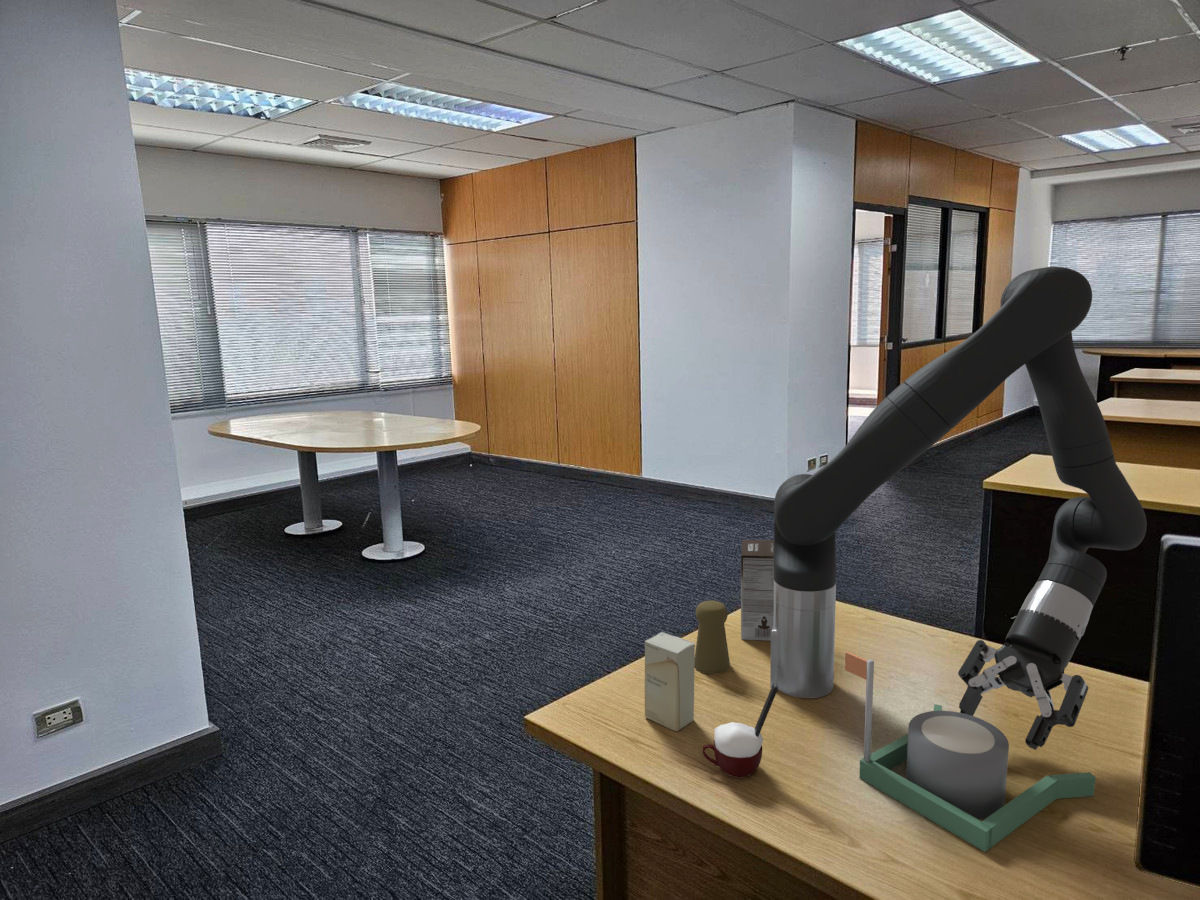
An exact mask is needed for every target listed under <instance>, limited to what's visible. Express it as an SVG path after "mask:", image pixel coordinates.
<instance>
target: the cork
mask: <svg viewBox="0 0 1200 900" xmlns="http://www.w3.org/2000/svg"><path fill="white" fill-rule="evenodd" d="M725 605H726V604H724V603H722V602H720V601H719V600H718V601H717V600H704V601H702V602H700V603H699V604H698V605H697V606H696V609H695V617H696V620H697V622H698V629H697V636H696V644H695V661H694V670H696V671H698V672H700V673H703V674H706V675H720V674H724V673H726V672H728V670H730V669H731V663H730V654H729V649H728V647H729V646H728V641H727V635H726V626H725V624H726V622H727V620H728V613H729V612H728V609H727V607H726V606H725Z"/></svg>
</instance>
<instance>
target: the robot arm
mask: <svg viewBox="0 0 1200 900" xmlns="http://www.w3.org/2000/svg"><path fill="white" fill-rule="evenodd" d="M1092 301H1093V290H1092V287H1091V284H1090V282H1089V280H1088V279H1087V278H1086V277H1085V275H1083V274H1082V273H1080V272H1079V271H1077V270H1074V269H1072V268H1068V267H1064V266H1046V267H1040V268H1035V269H1031V270H1026V271H1025V272H1021V273H1020V274H1018V275H1017V276H1015V277H1013V278H1012V279H1011V281H1009V282H1008V284H1007V285H1006V287H1005V288H1004V290H1003V291H1002V294H1001V299H1000V308H999V309H998V310H997V311H996V312H995V313H994V314H993V315H991V317H990V318H988V320H987V321H986V322H985V323H984V324H983V325H982V326H981V327H980V328H979V329H977V330H976V331H975V332H974V333H972V334H971V335H970V336H968V337H967V338H966V339H965V340H963V341H962V342H960V343H958V344H957V345H955V346H953V347H951V349H949V350H947V351H946V352H944V353H942V354H940V355H939V356H938V357H935V358H934V359H933V360H931V361H930V362H928V363H926V364H925V365H924V366H922V367H921V368H918V370H917V371H915V372H914V373H912V374H911V375H910V376H909V377H907V378H906V379H905V380H904V381H903V382H901V383H900V384H899V385H898V386H897V387H896V388H895V389H894V390H892V391H891V392H890V393H889V394H888V395H887V396H886V397H885V398H883V399H882V400H881V402H879V404H878V405H877V406H876V407H875V408H874V409H873V410H872V411H871V412H870V413H869V415H868V416H867V417H866V418H865V420H864V421H863V422H862V424H861V425H860V426H859V428H857V429H856V431H855V433H854V434H853V435H852V437H851V438H850V439H849V441H848V442H847V444H846V445H845V446H844V447H843V448H842V449H841V451H839V453H838V454H836V455H835V456H834V457H833V458H832V459H831V460H830V461H829V462H827V463H826V464H825V465H824V466H823V467H821V468H819V470H817V471H816V472H814V473H813V474H810V473H800V474H796V475H793V476H790V477H789V478H787V479H786V480H785V481H783V482H782V484H780V486H779V487H778V489H777V491H776V493H775V496H774V500H773V501H774V504H773V505H774V506H773V540H774V616H773V628H772V630H771V641H770V680H769V681H770V683H769V684H770V686H769V687H770V689H771V687H772V685H773V683H774V682H776V683H777V686H778V690H777V691H779V692H781V693H783V694H785V695H788V696H790V697H795V698H800V699H816V698H822V697H825V696H827V695H829V694H830V693H831V692H832V691H833V689H834V680H835V672H834V671H835V636H836V634H835V633H836V604H837V603H836V597H837V596H836V595H837V594H836V593H837V556H836V555H837V554H836V540H837V539H836V534H837V532H836V531H837V530H838V529H839V528H840V527H841V526H842V525H843V524H844V523H845V522H846V520H848V519H849V517H851V515H853V513H854V512H855V511H856V510H857V509H858V508H859V507H860V506H862V504H863V503H864V502H865V501H866V500H867V499H868V498H869V497H870V496H871V495H873V493H874V492H875V491H876V490H878V489H879V488H880V487H881V486H883V485H884V484H885V483H886V482H888V481H889V480H891V479H892V478H893V477H895V476H896V475H897V474H898V473H900V472H902V470H904V469H905V468H907V466H909V465H910V464H911V463H913V462H914V461H915V460H916V459H917V458H918V457H920V456H921V455H922V454H923V453H924V452H926V451H927V450H929V449H930V448H932V446H934V445H935V444H937V442H939V441H940V440H941V439H942V438H944V437H945V436H946V435H947V434H948V433H949V432H951V430H952V429H954V428H955V427H956V426H957V425H958V424H960V423H961V422H962V421H963V420H964V419H965V418H966V417H967V416H968V415H970V413H972V412H973V411H974V410H975V409H976V408H977V407H979V406H980V404H982V403H983V402H984V401H985V400H986V399H987V398H989V396H991V394H992V393H993V392H994V391H995V390H996V389H998V387H999V386H1000V385H1001V384H1003V382H1005V381H1006V380H1007V379H1008V378H1009V377H1010V376H1011V375H1013V374H1014V373H1016V372H1017V371H1018V370H1019V369H1020V368H1022V367H1023V366H1024V365H1025V367H1026V370H1027V372H1028V376H1029V378H1030V382H1031V384H1032V386H1033V391H1034V393H1035V396H1036V397H1035V398H1036V400H1037V404H1038V407H1039V410H1040V414H1041V417H1042V423H1043V426H1044V429H1045V430H1044V431H1045V433H1046V438H1047V440H1048V441H1047V442H1048V445H1049V449H1050V453H1051V456H1052V461H1053V464H1054V469H1055V471H1056V472H1055V473H1056V475H1057V477H1058V479H1059V481H1060V482H1061V483H1062V484H1064V485H1067V486H1070V487H1073V488H1077V489H1080V490H1082V491H1084V492H1085V493H1086V494H1087V495H1088V496H1075V497H1073V498H1070V499H1068V500H1067V501H1065V502H1064V503H1063V504H1062V505H1060V507H1059V508H1058V510H1057V512H1056V514H1055V516H1054V521H1053V527H1052V534H1051V541H1050V547H1049V554H1048V559H1047V561H1046V563H1045V565H1044V567H1043V569H1042V571H1041V572H1040V575H1039V577H1038V579H1037V581H1036V583H1035V584H1034V586H1033V587H1032V588H1031V590H1030V592H1029V593H1028V594H1027V596H1026V598H1025V599H1024V602H1023V603H1022V605H1021V608H1020V609H1019V611H1018V613H1017V615H1016V617H1015V619H1014V621H1013V623H1012V625H1011V626H1010V629H1009V631H1008V633H1007V634H1006V637H1005V641H1004V643H1003V644H1002V646H1001V647H999V648H998V649H997V648H995V647H993V646H990V645H987V644H986V642H985V641H984V640H983V639H979V640H976V642H975V643H974V646H973V647H972V648H971V650H970V651H969V653H968V655H967V657H965V658H966V659H965V660H964V662H963V663H962V665H961V667H960V668H959V670H958V672H957V674H958V676H959V677H960V679H961V680H962V681H963V683H965V684H966V685H967V687H966V690H965V692H964V694H963V696H962V698H961V700H960V702H959V703H958V708H959V709H960V712H959V713H964V714H968V715H971V716H974V715H975V713H976V712H977V709H978V708H979V705H980V703H981V701H982V699H983V694H985V693H987V692H989V691H991V690H998V689H1000V688H1002V687H1004V686H1005V687H1006V688H1007V689H1008V690H1012V691H1015V692H1021V693H1022V694H1023V695H1025V696H1026V697H1030V698H1033V697H1035V698H1036V701H1037V705H1038V707H1039V711H1040V715H1036V717H1035V718H1034V721H1033V723H1032V725H1031V727H1030V728H1029V729H1030V730H1029V731H1028V733H1027V735H1026V736H1025V739H1024V742H1025V745H1027V746H1028V747H1029V748H1030V749H1033V750H1035V751H1036V750H1037V749H1038V747H1039V748H1042V747H1043V746H1045V744H1046V742H1047V739H1048V738H1049V735H1050V734H1051V732H1052V730H1053V728H1054V726H1056V725H1061V726H1062V725H1064V726H1066V727H1068V728H1073V727H1074V726H1075V725H1076V724H1077V723H1076V722H1077V720H1078V717H1079V714H1080V711H1081V710H1082V707H1083V704H1084V701H1085V700H1086V696H1087V694H1088V691H1089V686H1088V685H1087V682H1086V681H1085V679H1084V678H1083V677H1082V676H1081V675H1080V674H1075V675H1073V676H1072V675H1070V674H1065V670H1066V668H1067V667H1068V665H1069V663H1070V661H1071V659H1072V658H1073V654H1074V653H1075V650H1076V648H1077V646H1078V644H1079V643H1080V640H1081V638H1082V637H1083V636H1084V635H1085V632H1086V628H1087V626H1088V623H1089V621H1090V617H1091V614H1092V611H1093V608H1094V606H1095V604H1096V602H1097V600H1098V597H1099V595H1100V594H1101V592H1102V589H1103V587H1104V585H1105V582H1106V580H1107V576H1108V575H1107V574H1108V572H1107V568H1106V567H1105V566H1104V564H1103V563H1102V562H1101V561H1100V560H1098V559H1097V558H1095V557H1093V556H1092V555H1090V554H1087V551H1088V549H1089V548H1093V549H1094V548H1095V549H1103V550H1104V549H1105V550H1115V551H1129V550H1133V549H1136V548H1137V547H1138V546H1139V545H1140V544H1141V543H1142V542H1143V540H1144V538H1145V536H1146V532H1147V529H1148V528H1147V526H1148V524H1147V517H1146V512H1145V510H1144V508H1143V505H1142V504H1141V502H1140V500H1139V498H1138V496H1137V495H1136V494H1135V492H1134V490H1133V488H1132V487H1131V485H1130V484H1129V482H1128V481H1127V479H1126V477H1125V475H1124V474H1123V472H1122V470H1120V468H1119V467H1118V464H1117V462H1116V458H1115V456H1114V455H1115V454H1114V449H1113V446H1112V443H1111V438H1110V436H1109V432H1108V431H1109V430H1108V428H1107V425H1106V422H1105V419H1104V416H1103V413H1102V410H1101V409H1100V406H1099V404H1098V402H1097V399H1096V398H1095V396H1094V395H1093V392H1092V389H1091V387H1089V385H1088V382H1087V381H1086V379H1085V378H1086V377H1085V375H1084V373H1083V370H1082V368H1081V366H1080V363H1079V361H1078V360H1079V359H1078V357H1077V354H1076V350H1075V345H1074V340H1073V332H1074V331H1075V330H1076V329H1077V328H1078V327H1079V326H1080V325H1081V323H1083V321H1084V320H1085V319H1086V318H1087V315H1088V313H1089V311H1090V309H1091V306H1092ZM993 659H994V660H995V664H993V665H992V666H990V667H987V668H985V669H983V668H984V666H985V664H986V663H990V662H991V660H993ZM982 669H983V671H982ZM981 671H982V673H980V672H981ZM1062 684H1063V689H1064V690H1065V694H1064V696H1063V697H1064V698H1063V699H1062V702H1061V705H1060V707H1059V710H1057V709H1055V705H1054V701H1053V698H1052V694H1051V692H1050V691H1051V690H1053V689H1056V688H1057V687H1060V686H1061V685H1062Z"/></svg>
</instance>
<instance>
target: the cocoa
mask: <svg viewBox="0 0 1200 900" xmlns="http://www.w3.org/2000/svg"><path fill="white" fill-rule="evenodd" d="M778 691H779V690H778V686H777V683H776V682H774V683H773V685H772V687H771V688H770V690H769V692H768V694H767V698H766V700H765V702H764V705H763V708H762V710H761V712H760V714H759V717H758V720H757V722H756V724H755V726H754V727H753V726H750V725H746V724H745V723H741V722H733V721H731V722H728V723H727V722H726V723H724V724H721V725H718V726H717V727H715V728H714V739H713V744H709V743H706V744H704V745H703V747H702V749H701V750H702V751H701V752H702V755H703V757H704V758H705V759H706V760H707V761H708V762H709V763H711V764H713V765H714V766H716V767H719V770H721V771H722V772H723V774H726V775H728V776H730V777H734V778H746V777H749V776H751V775H753V774H754V773H755V772H756V771H757V769H758V768H759V767H760V764H761V761H762V757H763V742H764V738H763V735H762V733H761V732H762V728H763V726H764V723H766V720H767V716H768V715H769V712H770V709H771V706H772V704H773V703H774V700H775V697H776V695H777V693H778ZM707 749H710V750H712V751H713V753H714V757H715V759H714V758H712V757H711V756H709V754H707V753H706V750H707Z"/></svg>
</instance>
